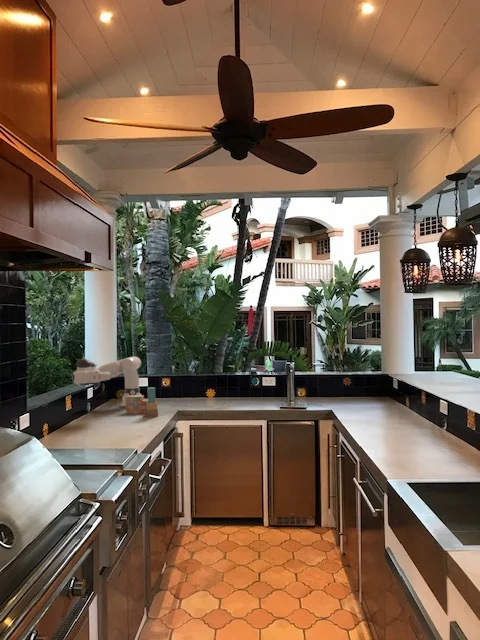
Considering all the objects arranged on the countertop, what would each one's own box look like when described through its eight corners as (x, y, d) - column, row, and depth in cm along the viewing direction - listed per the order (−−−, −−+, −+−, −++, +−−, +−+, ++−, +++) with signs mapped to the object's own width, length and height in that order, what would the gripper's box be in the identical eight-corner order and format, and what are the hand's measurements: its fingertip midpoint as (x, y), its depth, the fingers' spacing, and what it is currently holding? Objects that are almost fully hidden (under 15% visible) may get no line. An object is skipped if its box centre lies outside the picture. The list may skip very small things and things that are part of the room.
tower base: (145, 415, 344) (145, 408, 344) (156, 414, 347) (156, 407, 347) (146, 417, 337) (146, 410, 337) (158, 416, 339) (157, 409, 339)
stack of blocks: (156, 411, 358) (156, 395, 358) (153, 413, 352) (153, 396, 352) (128, 411, 361) (128, 395, 361) (125, 413, 355) (125, 396, 355)
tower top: (146, 408, 344) (146, 401, 344) (156, 407, 346) (156, 400, 346) (147, 410, 338) (146, 403, 338) (157, 409, 340) (156, 402, 340)
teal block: (147, 401, 343) (147, 387, 343) (154, 401, 345) (154, 387, 345) (148, 402, 339) (148, 388, 339) (155, 402, 340) (155, 388, 340)
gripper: (96, 379, 347) (116, 377, 351) (96, 382, 327) (117, 380, 332) (96, 370, 347) (115, 369, 351) (96, 373, 327) (117, 371, 331)
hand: (116, 374), depth 341 cm, fingers open, 8 cm apart
